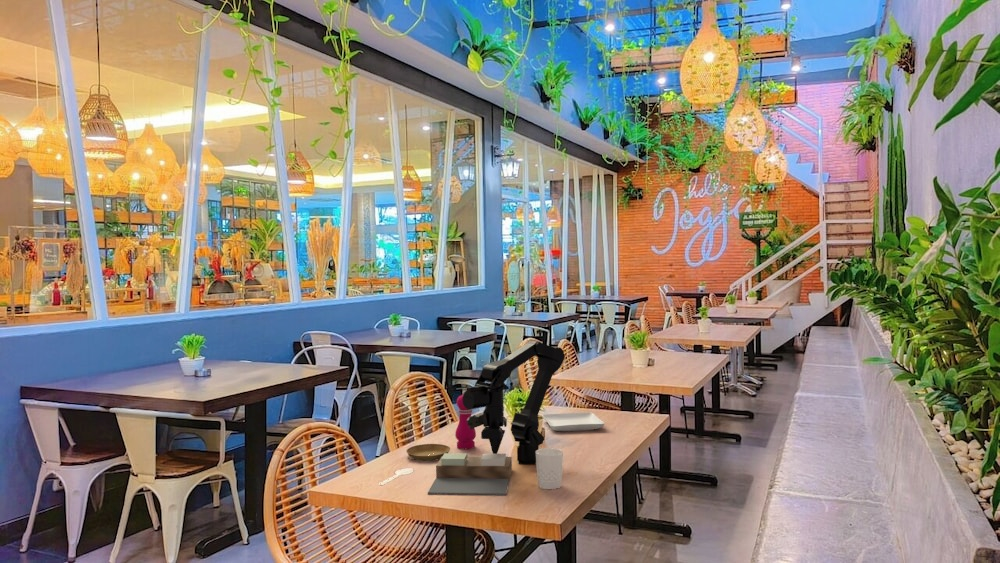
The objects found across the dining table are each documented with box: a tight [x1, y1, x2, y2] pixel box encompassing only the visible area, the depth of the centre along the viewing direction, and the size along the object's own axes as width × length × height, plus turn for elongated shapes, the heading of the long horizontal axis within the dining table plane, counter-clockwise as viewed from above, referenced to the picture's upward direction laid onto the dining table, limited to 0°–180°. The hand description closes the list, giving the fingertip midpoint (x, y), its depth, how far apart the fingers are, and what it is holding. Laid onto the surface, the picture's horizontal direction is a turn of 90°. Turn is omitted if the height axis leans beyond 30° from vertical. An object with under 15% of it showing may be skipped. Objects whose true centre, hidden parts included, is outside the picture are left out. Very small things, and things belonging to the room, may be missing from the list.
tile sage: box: [441, 452, 468, 466], centre depth 208 cm, size 7×6×2 cm
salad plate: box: [541, 412, 605, 432], centre depth 269 cm, size 21×21×3 cm
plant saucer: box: [406, 443, 451, 462], centre depth 230 cm, size 15×15×3 cm
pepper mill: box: [454, 389, 477, 450], centre depth 240 cm, size 7×7×20 cm
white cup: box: [535, 447, 564, 490], centre depth 197 cm, size 8×8×10 cm
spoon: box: [378, 467, 415, 486], centre depth 208 cm, size 5×18×1 cm, turn 156°
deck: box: [435, 456, 513, 481], centre depth 209 cm, size 22×10×4 cm, turn 85°
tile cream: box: [481, 453, 507, 466], centre depth 207 cm, size 7×6×2 cm
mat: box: [427, 477, 510, 496], centre depth 197 cm, size 22×13×1 cm, turn 85°
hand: (494, 454), depth 213 cm, fingers closed
